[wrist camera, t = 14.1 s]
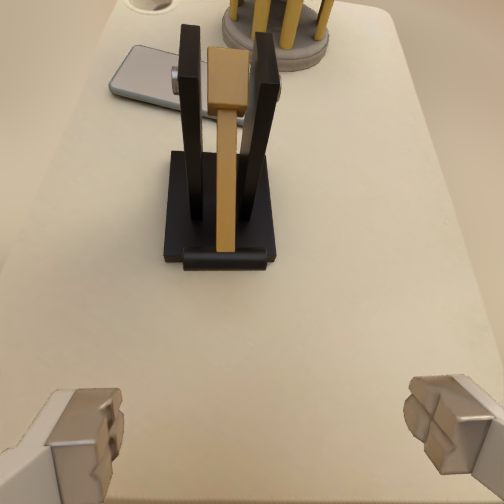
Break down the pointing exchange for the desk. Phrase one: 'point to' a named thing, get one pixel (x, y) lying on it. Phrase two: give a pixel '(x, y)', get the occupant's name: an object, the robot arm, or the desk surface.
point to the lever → (226, 164)
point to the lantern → (279, 29)
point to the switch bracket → (205, 163)
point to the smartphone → (154, 79)
